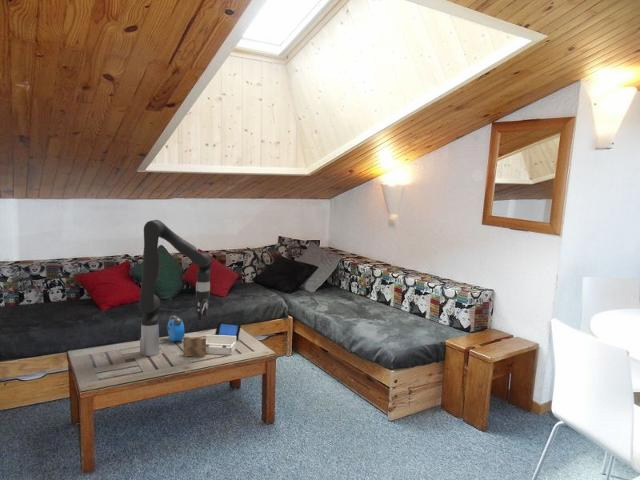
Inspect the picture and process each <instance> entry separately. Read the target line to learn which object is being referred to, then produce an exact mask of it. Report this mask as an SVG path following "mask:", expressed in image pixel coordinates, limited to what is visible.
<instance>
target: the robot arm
mask: <svg viewBox="0 0 640 480" xmlns="http://www.w3.org/2000/svg"><path fill="white" fill-rule="evenodd" d="M143 226H144V227H143V255H142V266H141V267H142V268H141V287H140V293H139V297H138V298H139V299H138V309H139V311H140V312H141V313H142V314H143V316H142V317H141V319H140V327H141V337H139V351H140V354H139V355H141V356H144V357H150V356H151V357H153V356H156V355H159V354H160V330H159V329H160V327H159V326H160V325H159V323H160V322H159V320H160V316H161V313H160V312H161V301H160V298H159V297H158V296H157V295H156V294H155V287H156V285H157V283H158V280H159V277H160V273H161V257H160V253H159V245H158V244H159V238H161V239H163V240H165V241H166V242H167V243H169V244H170V245H171V246H172V247H173V248H174V249H175V250H177V252H179V253H180V254H181V255H183V256H185V257H186V258H188V259H189V260H190V261H191V262H192V263H193V264H194V265H196V266H198V270H197V272H196V283H195V298H196V299H198V302H196V307H195V308H196V310H195V313H196V314H197V321H202V320H203V317H206V316H207V314H208V308H209V298H210V296H211V279H210V278H211V274H210V273H211V269H212V263H213V262H212V261H213V260H212V256H211V254H209V253H208V252H200V251H199V250H198V249H197V247H196V246H195V245H193V244H192V243H190V242H189V241H187V240H186V239H183V238H182V237H181V236H180V235H178V234H177V233H175V232H174V231H173V230H171V228H169V227H168V226H167V225H166V224H165V223H164V222H162V221H161V220H159V219H153V220H149V221H147V222H146V223H144V225H143ZM207 317H208V316H207Z"/></svg>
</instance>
